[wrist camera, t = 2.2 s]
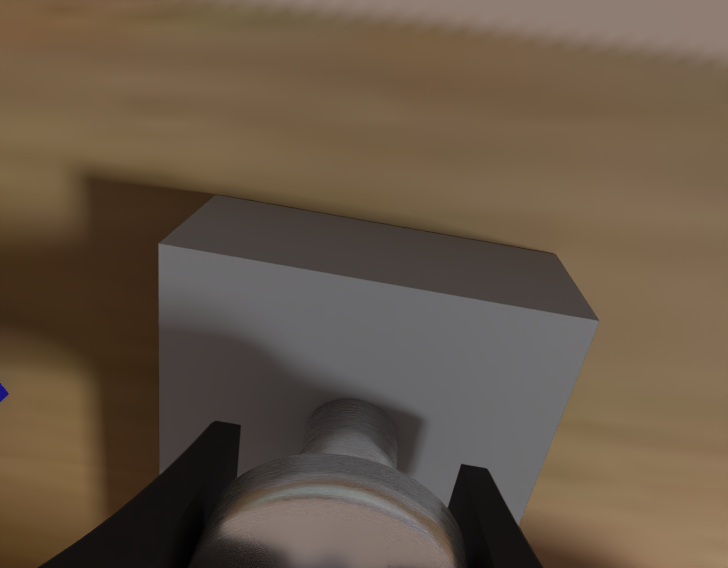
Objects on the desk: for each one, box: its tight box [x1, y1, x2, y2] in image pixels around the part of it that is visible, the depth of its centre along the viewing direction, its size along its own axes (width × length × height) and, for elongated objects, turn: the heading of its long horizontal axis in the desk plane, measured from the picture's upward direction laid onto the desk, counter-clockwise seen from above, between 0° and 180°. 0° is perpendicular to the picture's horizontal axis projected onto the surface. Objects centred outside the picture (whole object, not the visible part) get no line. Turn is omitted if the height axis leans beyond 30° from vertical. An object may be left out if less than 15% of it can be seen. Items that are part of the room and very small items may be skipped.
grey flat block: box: [158, 195, 599, 526], centre depth 18 cm, size 18×10×4 cm, turn 171°
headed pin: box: [187, 398, 467, 568], centre depth 12 cm, size 5×5×5 cm
